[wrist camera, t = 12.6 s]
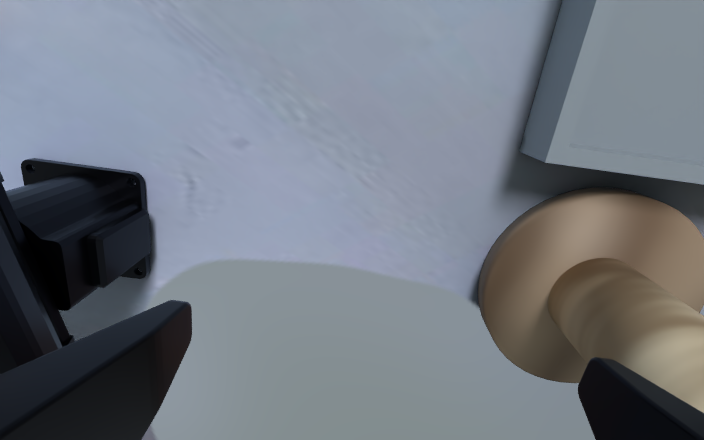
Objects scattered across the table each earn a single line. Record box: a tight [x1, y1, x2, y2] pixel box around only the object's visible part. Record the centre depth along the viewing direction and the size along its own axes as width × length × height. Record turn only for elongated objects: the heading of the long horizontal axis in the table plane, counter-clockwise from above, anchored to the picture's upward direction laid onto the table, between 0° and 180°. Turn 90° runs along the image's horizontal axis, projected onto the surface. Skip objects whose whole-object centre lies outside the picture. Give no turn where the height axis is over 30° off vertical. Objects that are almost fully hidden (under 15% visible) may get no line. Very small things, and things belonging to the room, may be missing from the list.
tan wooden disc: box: [478, 187, 704, 383], centre depth 21 cm, size 12×12×2 cm
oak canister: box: [548, 258, 704, 413], centre depth 15 cm, size 5×5×13 cm
